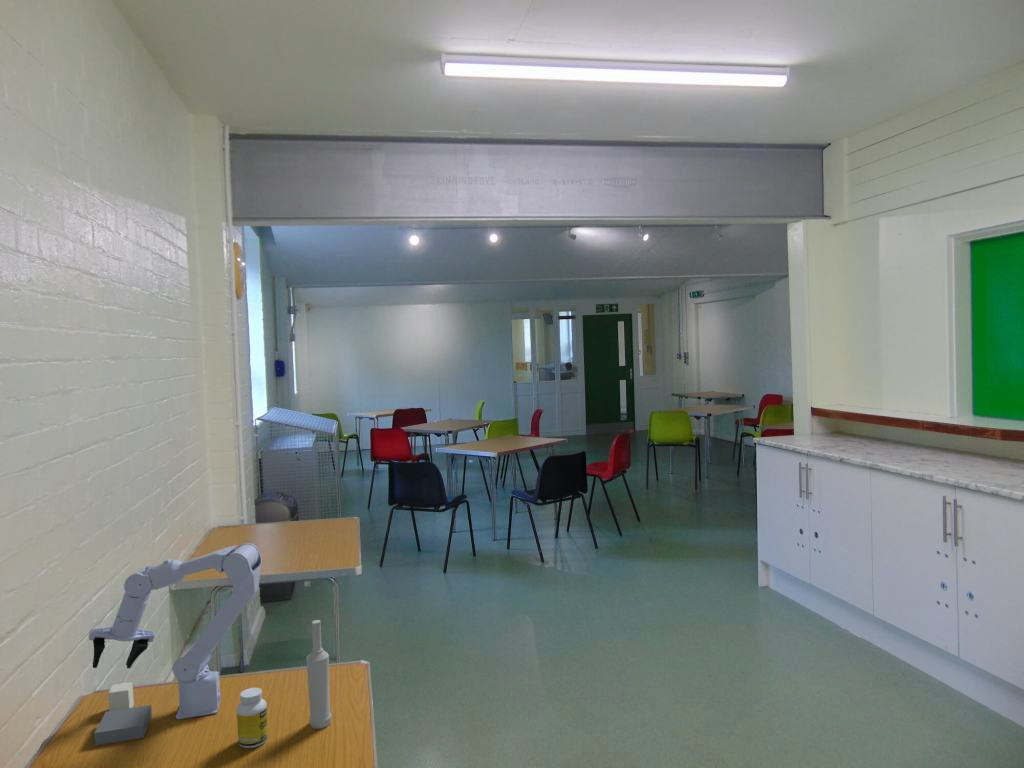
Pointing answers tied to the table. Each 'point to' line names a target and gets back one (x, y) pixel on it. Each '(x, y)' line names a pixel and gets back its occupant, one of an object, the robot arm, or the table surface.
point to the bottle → (318, 681)
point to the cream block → (121, 696)
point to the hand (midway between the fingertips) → (111, 666)
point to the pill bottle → (252, 718)
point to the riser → (123, 725)
